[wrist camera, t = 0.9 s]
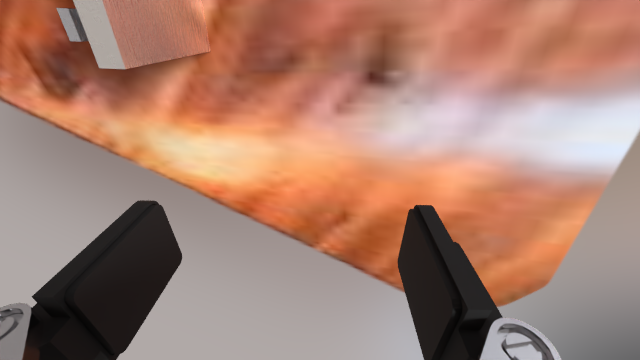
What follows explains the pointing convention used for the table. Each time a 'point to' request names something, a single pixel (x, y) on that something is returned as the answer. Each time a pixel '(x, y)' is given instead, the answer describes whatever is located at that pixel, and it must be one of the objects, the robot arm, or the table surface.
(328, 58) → the table surface
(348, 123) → the table surface
